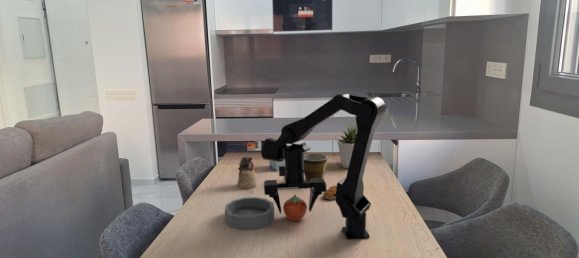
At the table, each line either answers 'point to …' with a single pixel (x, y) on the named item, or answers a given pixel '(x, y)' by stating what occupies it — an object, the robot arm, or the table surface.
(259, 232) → the table surface
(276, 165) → the medicine box
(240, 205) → the bowl
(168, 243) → the table surface
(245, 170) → the figurine
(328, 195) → the pastry
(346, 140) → the potted plant
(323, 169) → the ceramic cup
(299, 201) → the tomato
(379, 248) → the table surface
